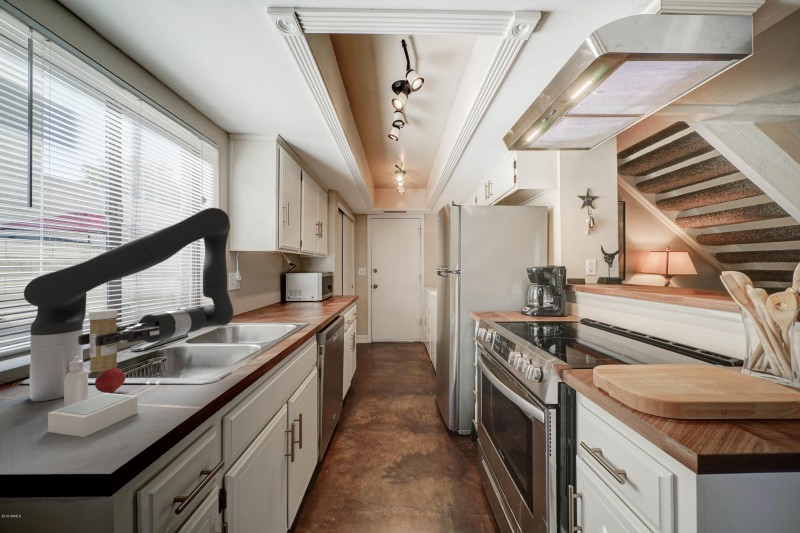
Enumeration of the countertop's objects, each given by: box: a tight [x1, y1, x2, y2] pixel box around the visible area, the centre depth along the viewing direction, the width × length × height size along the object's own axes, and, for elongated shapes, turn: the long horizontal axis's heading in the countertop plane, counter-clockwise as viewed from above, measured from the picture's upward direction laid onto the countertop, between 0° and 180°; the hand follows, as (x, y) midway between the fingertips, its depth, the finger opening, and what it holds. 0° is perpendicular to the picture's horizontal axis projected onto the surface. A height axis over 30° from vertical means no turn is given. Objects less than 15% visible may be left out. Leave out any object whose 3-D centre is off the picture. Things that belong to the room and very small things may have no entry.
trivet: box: [47, 392, 139, 438], centre depth 64 cm, size 10×10×4 cm
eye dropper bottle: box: [63, 356, 89, 407], centre depth 73 cm, size 4×6×12 cm
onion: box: [94, 367, 126, 394], centre depth 79 cm, size 6×6×8 cm
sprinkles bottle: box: [88, 308, 119, 373], centre depth 65 cm, size 5×5×14 cm
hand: (88, 340), depth 62 cm, fingers closed on sprinkles bottle, 4 cm apart
